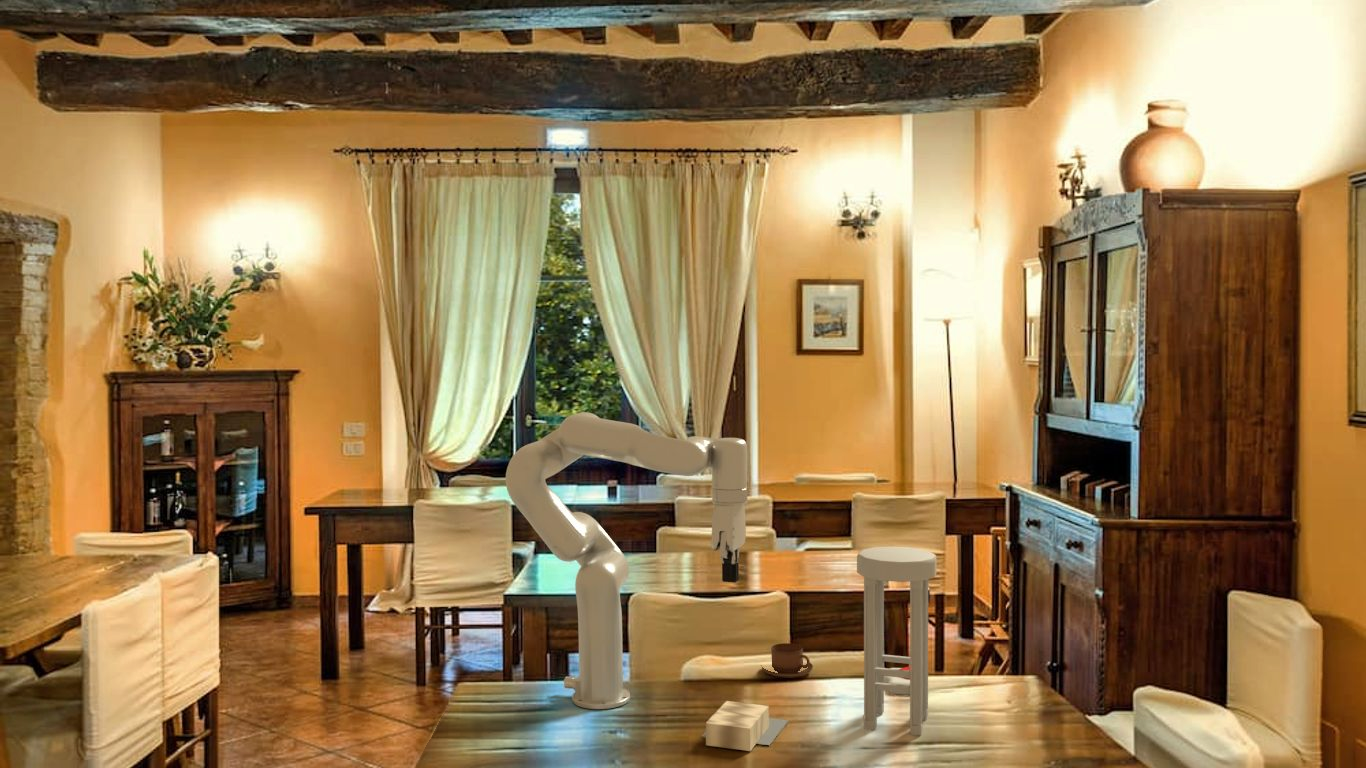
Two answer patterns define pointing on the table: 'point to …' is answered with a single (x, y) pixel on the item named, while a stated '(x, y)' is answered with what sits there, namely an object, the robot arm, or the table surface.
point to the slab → (737, 725)
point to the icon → (898, 681)
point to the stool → (876, 570)
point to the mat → (769, 731)
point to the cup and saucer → (788, 661)
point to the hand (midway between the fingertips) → (730, 581)
